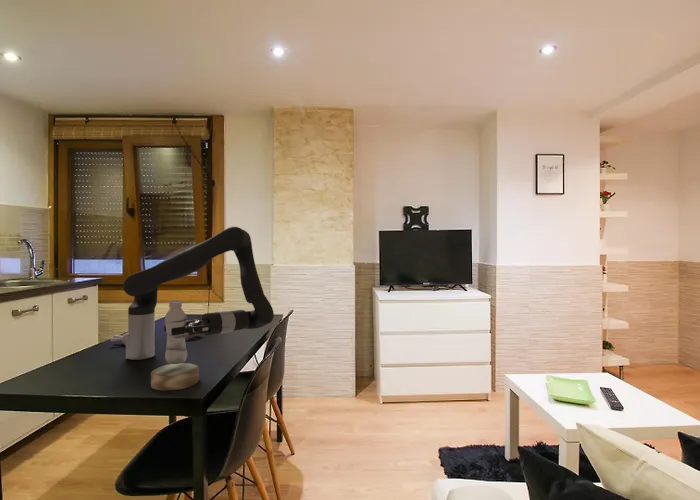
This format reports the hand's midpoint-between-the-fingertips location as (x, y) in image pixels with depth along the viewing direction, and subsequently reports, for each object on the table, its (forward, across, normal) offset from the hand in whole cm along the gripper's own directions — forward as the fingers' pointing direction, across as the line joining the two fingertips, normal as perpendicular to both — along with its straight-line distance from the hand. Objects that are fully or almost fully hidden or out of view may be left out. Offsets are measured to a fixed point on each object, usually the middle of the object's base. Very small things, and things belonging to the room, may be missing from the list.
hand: (168, 330), depth 123 cm
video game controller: (-29, -59, +18) cm, 68 cm away
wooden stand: (-2, 0, +17) cm, 17 cm away
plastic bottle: (-2, 0, +11) cm, 11 cm away
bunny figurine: (-5, -64, +18) cm, 67 cm away
